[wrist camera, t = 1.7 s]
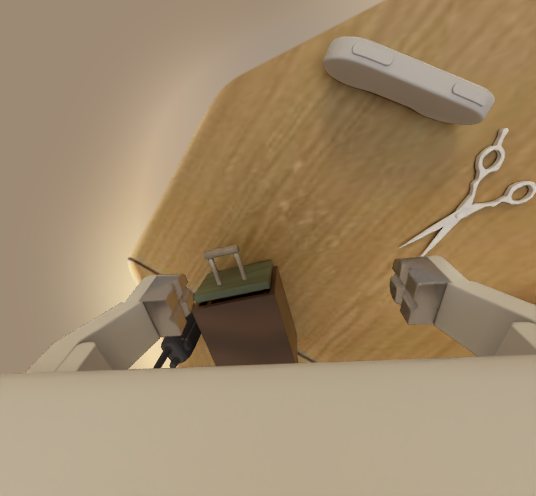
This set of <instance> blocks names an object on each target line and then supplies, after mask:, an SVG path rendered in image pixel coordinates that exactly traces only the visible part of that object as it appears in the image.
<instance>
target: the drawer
mask: <svg viewBox="0 0 536 496" xmlns="http://www.w3.org/2000/svg"><path fill="white" fill-rule="evenodd" d="M233 253H234V256H235V258H236V261H237V264H238V268H233V269H229V270H224V271H220V272H218V270H217V267H216V265H215V262H214V259H213V258H216V257H220V256H224V255H229V254H233ZM204 256H205V259H208V261H209V263H210V266H211V268H212V271H213V273H211V274H208V275H207V277H206V278H205V280H204V281H203V283H202V284H201V286H200V287H199V289H198V290H197V292H196V293H195V295H194V296H193V297H194V300H195V302H196V303H199V302H204V301H208V302H207V304H206V305H209V304H214V303H219V302H224V301H229V300H234V299H239V298H244V297H249V296H254V295H259V294H264V293H269V292H270V286H271V279H272V277H271V275H272V268H273V265H272V262H271V260H270V261H265V262H261V263H256V264H252V265H247V266H243V264H242V261H241V258H240V255H239V246H238V244H235V245H231V246H226V247H222V248H218V249H214V250H209V251H205V252H204Z"/></svg>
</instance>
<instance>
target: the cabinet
mask: <svg viewBox="0 0 536 496" xmlns="http://www.w3.org/2000/svg"><path fill="white" fill-rule="evenodd" d="M271 277H272V279H271V286H270V292H269V293H264V294H259V295H254V296H249V297H244V298H239V299H234V300H229V301H224V302H219V303H214V304H209V305H206V304H207V302H208V301H204V302H199V303H196V304H195V306H194V308H193V309H192V313H193V315H194V317H195V320H196V322H197V324H198V326H199V329H200V331H201V333H202V335H203V338H204V340H205V342H206V344H207V347H208V349H209V351H210V353H211V356H212V358H213V360H214V363H215V365H216V366H234V365H261V364H289V363H298V357H297V336H296V330H295V327H294V323H293V320H292V316H291V313H290V309H289V306H288V302H287V299H286V295H285V292H284V288H283V284H282V281H281V277H280V274H279V270H278V267H277V266H276V267H273V268H272V275H271Z"/></svg>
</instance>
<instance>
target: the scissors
mask: <svg viewBox="0 0 536 496" xmlns="http://www.w3.org/2000/svg"><path fill="white" fill-rule="evenodd" d="M507 132H508V129H507V128H503V129H500V130H499V131H498V136H497V138H496V140H495V142H494V144H493V146H489V147H487V148H485V149H484V150H482V151H481V153H480V154H479V155H478V156H477V158H476V162H475V169H476V171H477V172H476V177H475V179H474V180H473V181H472V182H471V183H470V192H469V195H468V196H467V197H466V198H465V199H464V200H463V202H462V203H461V204H460V205H459V206H458V208H457V209H456V211H455V212H454V213H452V214H451V215H449V216H447V217H446V218H444V219H442V220H441V221H439V222H437V223H436V224H434V225H433V226H431V227H429V228H428V229H426V230H425V231H423V232H422V233H420V234H419V235H417V236H416V237H414V238H413V239H411V240H410V241H408V242H406V243H405V244H404V245H402V246H401V247H403V246H405V245H407V244H409V243H411V242H413V241H416V240H418V239H420V238H422V237H424V236H426V235H428V234H429V233H432V232H434V231H436V230H438V229H440V228H442V227H443V228H442V229H441V231H440V232H439V233H438V235H437V236H436V237H435V238H434V240H433V241H432V242H431V244H430V245H429V246H428V248H427V249H426V250H425V252H424V253H423V254H422V256H421V257H423V256H424V255H425V254H426V253H427V252H428V251H429V250H430V249H431V248H433V247H434V246H435V245H436V244H437V243H438V242H439V241H440V240H441V239H442V238H443V237H444V236H445V235H446V234H447V233H448V232H449V231H450V230H451V229H452V228H453V227H454V225H455V224H456V223H457V222H458V221H459V220H460V219H462V218H464V217H466V216H468V215H470V214H471V213H473V212H475V211H477V210H479V209H481V208H483V207H486V206H493V207H494V206H496V205H497V204H499V203H501V202H507V203H510V204H521V203H524V202H526V201H528V200H529V199H530V198H532V197H533V195H534V194H535V192H536V184H535V183H534V182H530V181H520V182H516V183H514V184H512V185H510V186H508V188H507V190H506V192H505V193H504V195H503V196H501V197H499V198H498V199H496V200H495V201H491V202H486V203H473V199H474V196H475V192H476V188H477V186H478V184H479V182H480V180H481V179H482V178H483V177H484V176H485V175H486V174H487V173H490V172H493V171H496V170H498V169H499V167H500V166H501V165H502V163H503V160H504V155H505V152H504V149H503V148H502V147H501V144H502V141H503V139H504V136H505V135H506V134H507ZM492 150H495V151H496V152H497V155H498V156H497V159H496V161H495V162H494V164H493V165H492V166H490V167H489V168H488V169H484V167H483V166H482V161H483V159H484V157H485V156H486V155H487V154H488V153H489V152H490V151H492ZM524 185H527V186H528V188H529V191H528V193H527V195H526V196H524V197H523V198H522V199H520V200H513V199H512V198H511V195H512V194H513V192H514V191H515V190H516V189H518V188H520V187H521V186H524ZM472 203H473V204H472ZM401 247H400V248H401ZM398 249H399V248H398Z"/></svg>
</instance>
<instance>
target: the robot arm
mask: <svg viewBox="0 0 536 496" xmlns="http://www.w3.org/2000/svg"><path fill="white" fill-rule="evenodd" d="M392 269H393V270H394V272H395V274H394V275H393V276H392V277H391V278H390V292H391V295H392V298H393V300H394V301H395V302H396V303H397V304H399V305H401V309H400V312H401V313H402V315H403V317H404V318H405V320H406V322H407V323H408V325H416V324H434V326H436V327H437V328H438V329H440V330H441V331H443V332H444V333H446V334H447V335H448V336H450V337H451V338H453V339H454V340H455V341H457V342H458V343H460V344H461V345H462V346H464V347H465V348H467V349H468V350H469V351H471V352H472V353H474V354H475V355H476V356H478V357H455V358H427V359H400V360H372V361H345V362H317V363H289V364H261V365H234V366H208V367H182V368H154V369H128V368H130V367H131V366H132V365H133V364H134V363H135V362H136V361H137V360H138V359H139V358H140V357H141V356H142V355H143V354H144V353H145V352H146V351H147V350H148V349H149V348H150V347H151V346H152V345H153V344H154V343H156V341H158V339H160V337H169V336H181V335H182V333H183V330H184V328H185V325H186V323H187V321H186V318H185V317H187V316H188V315H189V314H190V313H191V311H192V308H193V295H192V292H191V290H190V289H188V288H187V287H186V285H187V283H188V280H187V278H186V275H184V274H165V275H149V276H146V277H144V278H143V280H142V281H141V282H140V283H139V285H138V286H137V287H136V289H135V290H134V291H133V293H132V294H131V295H130V296H129V298H128V299H127V301H126V302H125V303H120V304H118V305H116V306H115V307H113V308H111V309H109V310H108V311H106V312H104V313H103V314H101V315H99V316H98V317H96V318H94V319H93V320H91V321H89V322H87V323H86V324H84V325H83V326H81V327H79V328H78V329H76V330H74V331H72V332H71V333H69V334H67V335H65V336H64V337H62V338H60V339H59V340H57V341H56V342H54V343H52V344H51V346H50V347H49V348H48V349H47V350H46V351H45V352H44V353H43V354H42V355H41V356H40V357H39V358H38V359H37V360H36V362H35V363H34V364H33V365H32V366H31V367H30V368H29V369H28V370H27V371H26V372H25V373H17V374H0V496H536V305H534V304H531V303H529V302H526V301H523V300H521V299H518V298H516V297H513V296H511V295H508V294H506V293H503V292H500V291H498V290H495V289H493V288H490V287H488V286H485V285H483V284H480V283H477V282H475V281H470V282H469V281H468V280H467V279H466V278H465V277H464V276H463V275H462V274H461V273H460V272H458V271H457V270H456V269H455V268H454V267H453V266H452V265H451V264H450V263H449V262H448V261H447V260H445V259H444V258H443V257H442V256H440V255H433V256H424V257H415V258H403V259H395V261H394V262H393V267H392Z"/></svg>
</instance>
